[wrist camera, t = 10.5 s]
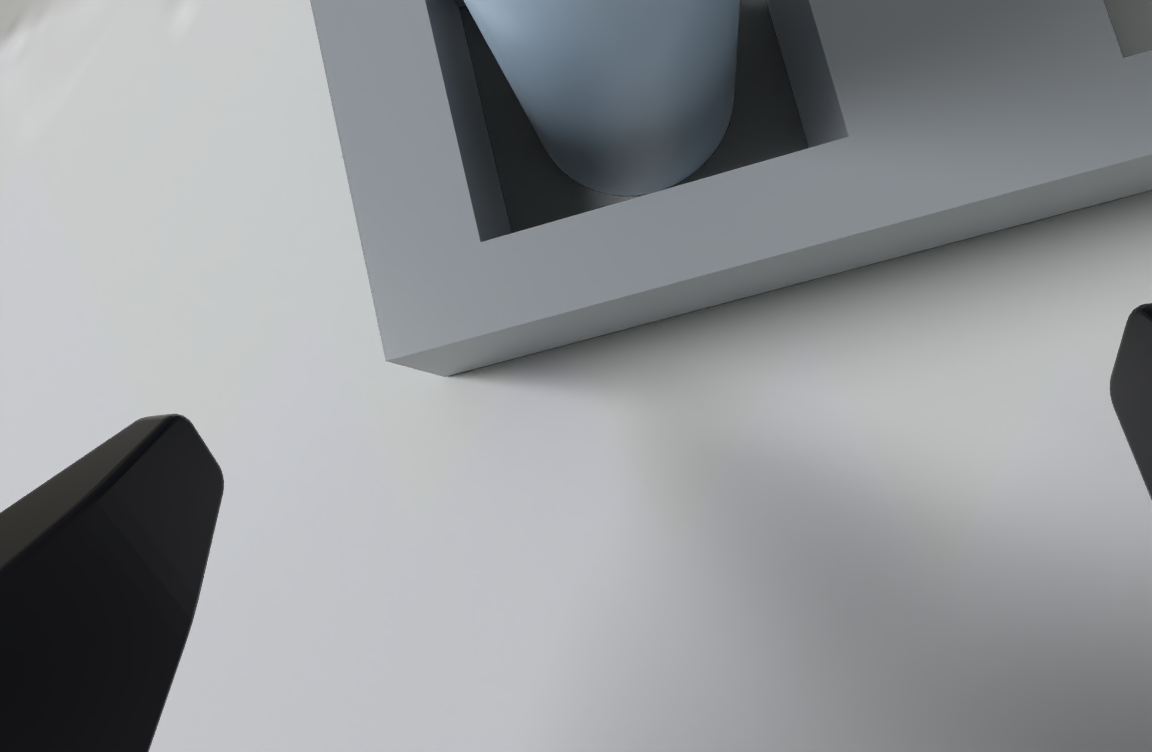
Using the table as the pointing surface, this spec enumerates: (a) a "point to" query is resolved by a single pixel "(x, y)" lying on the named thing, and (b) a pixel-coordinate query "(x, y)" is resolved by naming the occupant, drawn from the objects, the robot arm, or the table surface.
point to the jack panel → (734, 198)
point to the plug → (619, 83)
